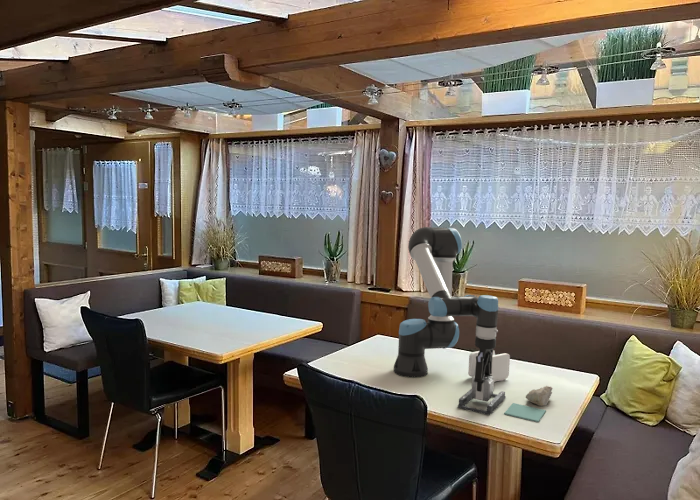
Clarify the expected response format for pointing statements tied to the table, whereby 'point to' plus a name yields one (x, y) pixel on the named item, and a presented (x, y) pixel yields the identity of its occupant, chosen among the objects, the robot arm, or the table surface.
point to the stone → (540, 395)
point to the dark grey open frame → (490, 407)
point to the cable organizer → (498, 365)
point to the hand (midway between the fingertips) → (482, 396)
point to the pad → (525, 412)
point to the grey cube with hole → (488, 388)
